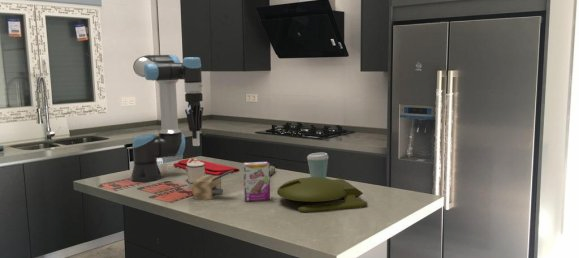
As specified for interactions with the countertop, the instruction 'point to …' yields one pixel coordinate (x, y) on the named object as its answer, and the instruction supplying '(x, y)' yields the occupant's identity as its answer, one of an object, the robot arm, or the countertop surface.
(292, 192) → the spaceship
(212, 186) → the oak block
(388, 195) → the countertop surface
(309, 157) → the disposable coffee cup
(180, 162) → the red long flat piece
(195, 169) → the teacup with lid
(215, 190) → the lynch pin
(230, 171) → the plate
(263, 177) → the candy bar box
